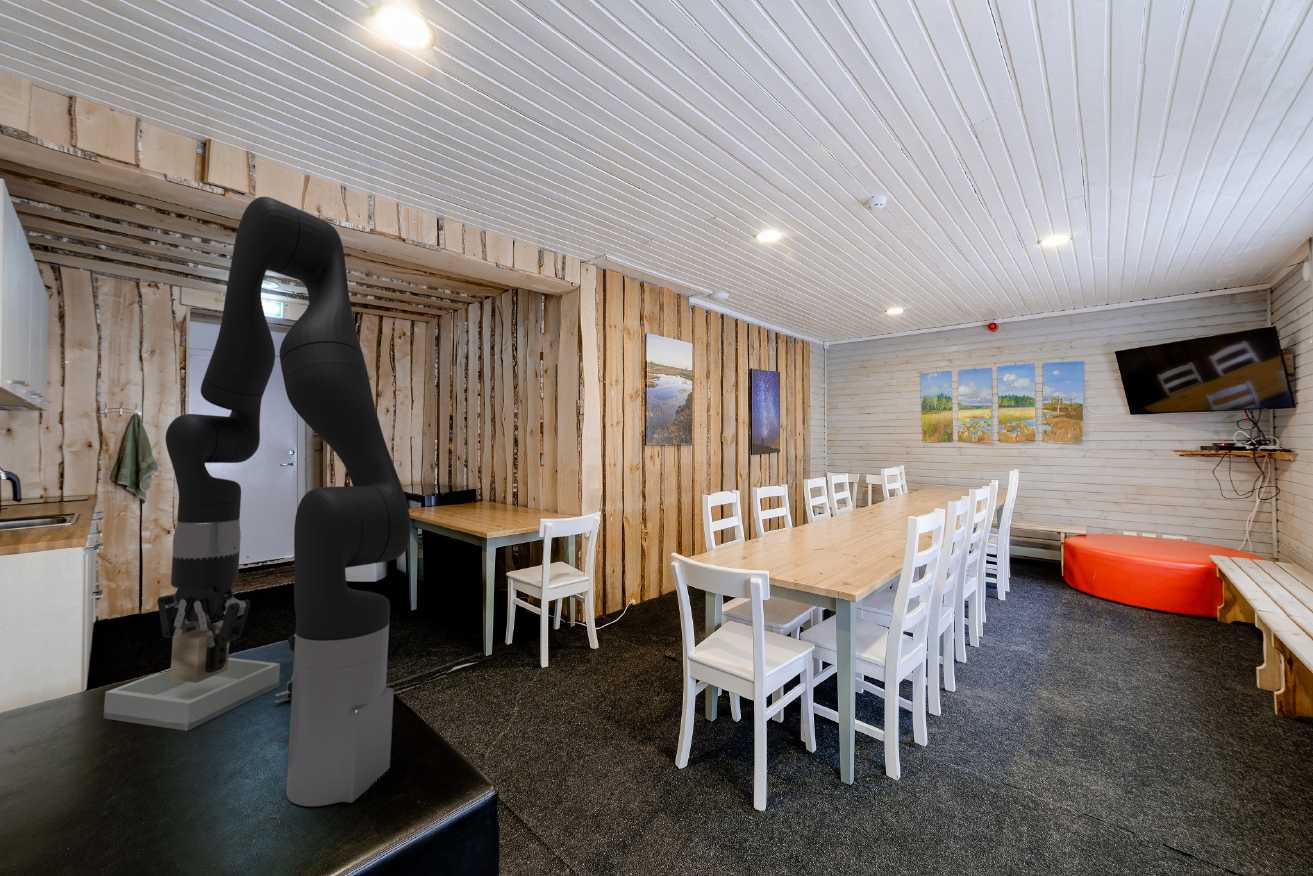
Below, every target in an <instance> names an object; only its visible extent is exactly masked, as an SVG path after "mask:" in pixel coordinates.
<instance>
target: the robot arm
mask: <svg viewBox="0 0 1313 876" xmlns="http://www.w3.org/2000/svg"><path fill="white" fill-rule="evenodd" d="M267 271H270V272H274V273H277V274H280V275H284V276H286V277H289V278H293V279H295V280H297V281H300V282H301V283H303V285H304V286H305V288H306V290H307V295H308V306H307V307H306V309H305V311H304V312H303V313H302V314H301V315H300V317H298V319H297V320H296V321H295V322H294V323H293V325H292V326H291V327H290V329H289V330H288V331H287V333H286V334H285V336H284V337H283V339H282V341H281V344H280V347H279V363H280V367H281V372H282V377H283V383H284V389H285V392H286V396H287V399H288V402H290V404H291V406H292V408H293V409H294V410H295V412H296V413H297V414H298V415H299V417H300V418H301V419H302V420H303V422H305V423H306V424H307V425H308V427H309V428H311V430H313V431H314V432H315V433H316V434H317V435H318V436H319V437H320V438H321V439H322V440H323V441H324V443H326V444H327V445H328V446H329V447H330V448H331V449H332V451H334V453H335V454H336V455H337V457H338V458H339V459H340V461H341V462H342V464H343V466H344V468H345V470H346V472H347V474H348V476H349V479H350V482H351V484H352V485H351V486H350V485H349V486H322V487H316V488H313V489H310V490H309V491H307V492H306V493H305V494H304V496H303V497H302V498H301V500H300V502H299V504H298V507H297V510H296V513H295V519H294V526H293V527H294V530H293V531H294V532H293V533H294V534H293V536H294V537H293V551H294V554H293V555H294V556H293V557H294V558H293V559H294V562H293V563H294V574H293V575H294V578H293V579H294V583H293V585H294V586H293V603H294V611H295V633H294V634H295V650H294V651H293V652H294V653H293V654H294V655H293V670H292V676H293V683H292V700H291V702H290V704H291V705H290V719H289V721H290V723H289V736H288V737H289V739H288V755H287V756H288V757H287V758H288V759H287V760H288V761H287V775H286V776H287V777H286V791H285V792H286V798H287V800H289V801H290V802H291V803H293V804H295V805H298V806H303V807H322V806H329V805H333V804H337V803H353V802H355V801H356V800H357V799H358V798H360V797H361V796H362V794H364V793H366V791H367V790H369V788H371V787H372V786H373V785H374V784H375V783H376V782H377V779H378V778H380V776H382V775H383V774H384V773H385V772H386V771H387V770H388V769H389V768H390V767H391V752H392V751H391V750H392V749H391V747H392V734H393V733H392V731H393V711H394V709H393V708H394V689H393V688H391V687H387V676H388V673H387V672H388V671H387V670H388V650H389V637H390V636H389V634H390V633H389V632H390V631H389V630H390V618H391V617H390V616H391V604H390V600H389V598H387V597H386V596H385V595H382V594H381V593H378V592H372V591H367V590H360V589H355V588H351V587H349V586H348V585H347V575H346V569H348V568H354V567H361V566H366V565H372V564H379V563H384V562H389V561H393V560H395V559H398V558H400V557H401V556H402V555H403V554H404V553H405V552H406V550H407V548H408V546H409V543H410V539H411V532H412V531H411V530H412V525H411V524H412V523H411V515H410V510H409V505H408V501H407V499H406V495H405V492H404V489H403V486H402V484H401V481H400V478H399V476H398V473H397V472H398V471H396V467H395V465H394V462H393V460H392V457H391V455H390V452H389V449H388V446H387V443H386V440H385V437H384V434H383V431H382V427H381V424H380V420H379V417H378V412H377V409H376V406H375V405H376V404H375V400H374V397H373V392H372V387H371V382H370V376H369V371H368V368H367V365H366V360H365V357H364V354H363V350H362V347H361V344H360V340H359V336H358V332H357V327H356V322H355V319H354V314H353V309H352V305H351V304H352V303H351V299H350V292H349V285H348V276H347V267H346V259H345V251H344V245H343V242H342V239H341V237H340V234H339V232H338V231H337V229H336V228H335V227H334V226H333V225H332V224H331V223H329V222H327V221H326V220H324V219H322V218H320V217H317V216H316V215H313V214H311V213H309V212H306V211H304V210H301V209H300V208H297V207H294V206H292V205H290V204H287V203H284V202H282V201H280V200H278V199H275V198H273V197H270V196H259V197H257V198H255V199H253V200H252V201H251V202H249V204H248V205H247V206H246V208H245V210H244V212H243V214H242V216H241V219H240V221H239V224H238V228H237V230H236V234H235V240H234V246H233V251H232V257H231V262H230V269H229V272H228V278H227V282H226V283H227V284H226V285H227V286H226V291H225V297H224V302H223V303H224V304H223V310H222V311H223V312H222V316H221V323H220V327H219V331H218V336H217V339H216V343H215V346H214V349H213V350H212V351H213V352H212V354H211V358H210V360H209V362H208V366H207V368H206V371H205V374H204V376H203V379H202V382H201V384H200V385H201V386H200V393H201V394H200V395H201V396H202V398H203V399H204V400H205V401H207V402H208V403H210V404H212V405H214V406H217V407H219V408H221V409H222V408H223V409H226V410H229V411H231V412H230V413H229V415H228V416H225V415H212V414H211V415H209V414H201V413H200V414H198V413H197V414H196V413H187V414H185V413H184V414H182V415H180V416H177V417H176V418H174V419H173V420H172V421H171V423H169V425H168V427H167V430H166V432H165V445H166V449H167V453H168V456H169V459H170V462H171V465H172V469H173V472H174V475H175V480H176V481H175V482H176V485H177V489H178V503H177V505H178V506H177V519H176V520H177V522H176V527H175V531H174V535H173V544H172V556H171V557H172V559H171V560H172V561H171V573H170V585H171V586H172V587H173V588H176V592H174V593H171V594H168V595H163V596H160V597H158V598H157V600H156V601H157V607H158V614H159V619H160V625H161V633H162V636H163V637H164V638H165V639H167V638H170V639H173V636H177V635H180V634H184V633H186V632H190V631H193V630H197V629H199V628H200V629H201V631H202V632H204V633H205V635H206V637H207V645H208V647H207V652H206V667H205V671H206V672H208V673H213V672H215V671H218V670H220V669H222V668H223V666H224V665H225V662H226V649H227V643H228V642H229V643H230V642H232V641H235V640H237V639H240V638H241V635H242V632H243V630H244V626H245V623H246V620H247V617H248V614H249V611H250V608H251V601H250V599H243V600H239V599H237V598H235V594H234V592H233V588H232V586H233V584H234V583H235V582H236V581H237V580H238V578H239V571H240V569H239V568H240V553H241V552H240V551H241V550H240V549H241V537H242V536H241V535H242V534H241V523H240V517H241V503H242V502H241V501H242V487H241V485H240V484H239V482H237V481H235V480H231V479H225V478H220V477H214V476H212V475H211V474H210V473H209V471H208V470H207V467H206V464H238V463H243V462H246V461H248V460H249V459H250V458H252V457H253V456H254V455H255V453H256V452H257V451H258V450H259V447H260V442H261V439H260V438H261V433H260V432H261V430H260V429H261V426H260V425H261V422H260V421H261V408H262V399H263V396H264V394H265V391H266V388H267V385H268V383H269V381H270V377H271V375H272V373H273V369H274V367H275V361H276V349H275V344H274V340H273V337H272V333H271V330H270V327H269V324H268V321H267V318H266V315H265V311H264V307H263V303H262V302H263V301H262V288H263V287H262V286H263V281H264V279H265V275H266V273H267ZM172 619H175V620H174V623H173V624H172ZM215 621H218V622H215ZM212 622H214V623H212ZM172 625H173V626H172ZM216 628H218V629H219V633H220V634H219V636H217V637H216V633H215V629H216ZM390 769H391V768H390ZM384 775H385V774H384ZM384 775H383V776H384ZM383 776H382V777H383ZM380 779H381V778H380ZM375 781H376V782H375ZM374 782H375V783H374ZM373 783H374V784H373ZM372 784H373V785H372ZM371 785H372V786H371ZM370 786H371V787H370Z"/></svg>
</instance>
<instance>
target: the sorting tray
mask: <svg viewBox="0 0 1313 876" xmlns="http://www.w3.org/2000/svg"><path fill="white" fill-rule="evenodd" d="M280 669H281V663H277V662H269V661H261V660H253V659H245V658H235V657H228V670H227V671H224V672H222V673H219V674H217V675H214V676H212V677H209V678H207V679H205V680H202V681H200V682H197V683H194V682H187V681H179V680H172V679H170V673H171V671H168V670H171V667H170V668H167V669H164V670H162V671H161V672H163V673H159V672H156V673H154V675H153V674H151V675H148V676H146V677H143V678H139V679H137V680H135V681H132V682H129V683H127V684H126V683H125V684H124V685H121V686H118V687H116V688H112V689H110V690H107V691H105V692H104V693H105V694H104V705H103V708H104V709H103V719H107V720H114V721H119V722H127V723H133V724H139V725H140V724H141V725H145V726H153V727H159V728H166V729H173V730H179V731H186V732H187V731H190V730H192V729H194V728H196V727H198V726H200V725H203V724H205V723H206V722H209V721H211V720H212V719H214V718H217V717H219V716H221V715H223V714H225V713H227V712H229V711H231V710H233V709H235V708H237V707H239V706H242V705H243V704H246V703H247V702H250V701H252V700H255V699H256V698H259V697H260V696H262V695H264V694H266V693H268V692H270V691H272V690H274V689H276V688H279V687H280V673H281V670H280ZM164 671H168V672H164ZM157 673H158V674H157Z"/></svg>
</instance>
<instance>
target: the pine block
mask: <svg viewBox="0 0 1313 876" xmlns="http://www.w3.org/2000/svg"><path fill="white" fill-rule="evenodd" d="M215 633H216V637H217V636H219V634H220V633H219V629H218V628H216V629H215ZM207 647H208V645H207V637H206V635H205V633H204V632H202V631H201V629H200V627H199V629H197V630H193V631H190V632H186V633H184V634H180V635H177V636H173V638H172V646H171V659H170V660H171V661H170V668H171V673H170V679H172V680H179V681H187V682H194V683H197V682H200V681H202V680H205V679H207V678H209V677H212V676H214V675H217V674H219V673H222V672H224V671H227V670H228V658H229V657H230V656H229V655H230V654H229V652H230V641H229V642H228V643H227V649H226V662H225V665H224V666H223V668H222V669H220V670H218V671H215V672H213V673H208V672H206V671H205V667H206V652H207ZM174 669H175V670H174Z"/></svg>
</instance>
